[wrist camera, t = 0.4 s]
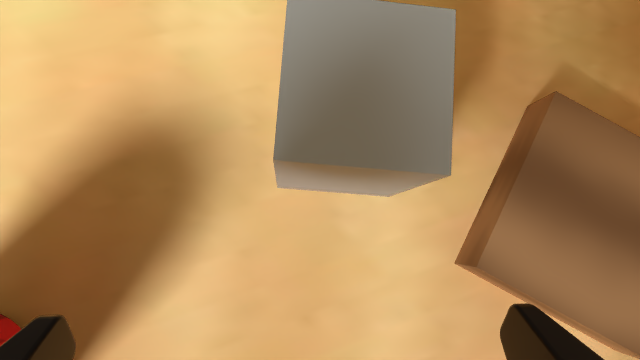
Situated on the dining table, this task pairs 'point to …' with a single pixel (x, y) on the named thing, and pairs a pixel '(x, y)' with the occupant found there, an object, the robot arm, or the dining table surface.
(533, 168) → the base brick
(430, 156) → the tower block
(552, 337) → the robot arm
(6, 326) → the soda can
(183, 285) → the dining table surface
